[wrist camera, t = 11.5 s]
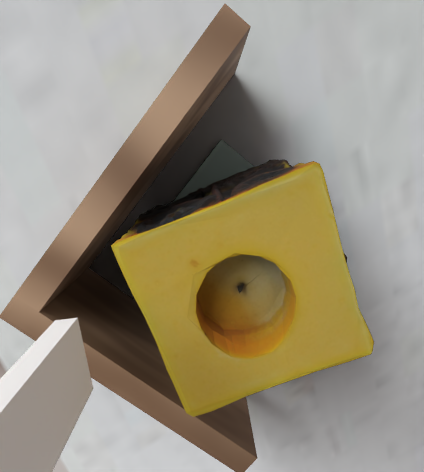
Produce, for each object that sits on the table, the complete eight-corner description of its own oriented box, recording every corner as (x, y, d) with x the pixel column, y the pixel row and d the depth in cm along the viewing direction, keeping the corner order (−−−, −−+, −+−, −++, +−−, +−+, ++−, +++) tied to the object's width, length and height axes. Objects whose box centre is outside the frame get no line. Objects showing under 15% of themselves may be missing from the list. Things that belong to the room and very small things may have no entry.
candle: (275, 157, 24) (324, 151, 15) (318, 283, 26) (386, 353, 16) (142, 209, 25) (102, 237, 15) (194, 329, 27) (188, 423, 17)
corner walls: (217, 58, 23) (224, 3, 15) (390, 208, 26) (474, 227, 18) (60, 271, 26) (-2, 317, 18) (230, 389, 28) (241, 475, 20)
